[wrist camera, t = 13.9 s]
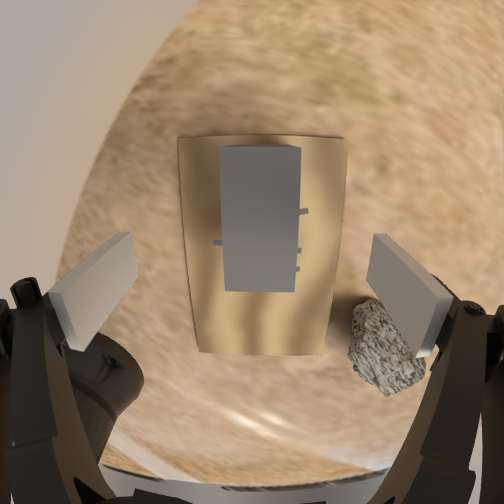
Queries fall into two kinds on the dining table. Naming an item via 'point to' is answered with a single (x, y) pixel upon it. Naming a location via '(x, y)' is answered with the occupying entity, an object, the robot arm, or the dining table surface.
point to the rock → (382, 350)
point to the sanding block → (260, 216)
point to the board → (308, 253)
